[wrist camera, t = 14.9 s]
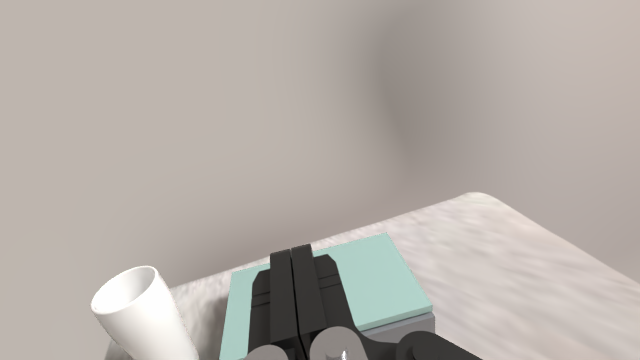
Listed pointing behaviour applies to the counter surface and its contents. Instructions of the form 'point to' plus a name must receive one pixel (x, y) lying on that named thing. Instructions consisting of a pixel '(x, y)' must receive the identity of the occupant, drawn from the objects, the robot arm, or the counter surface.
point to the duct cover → (359, 285)
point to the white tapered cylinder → (143, 316)
